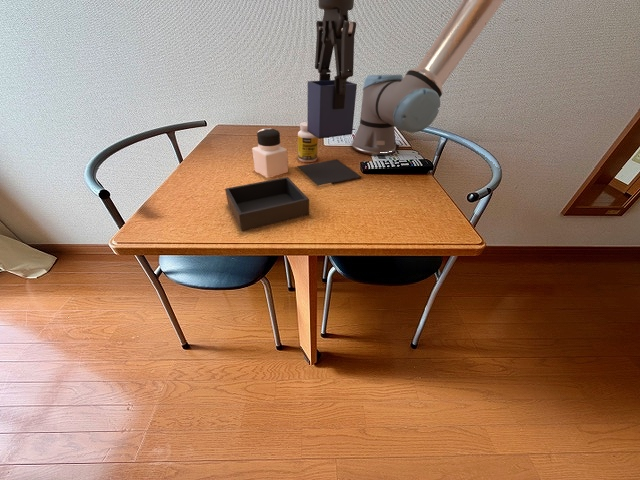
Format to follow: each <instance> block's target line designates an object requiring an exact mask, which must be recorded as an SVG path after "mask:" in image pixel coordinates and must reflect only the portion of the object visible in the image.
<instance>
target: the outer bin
mask: <svg viewBox="0 0 640 480" xmlns="http://www.w3.org/2000/svg"><path fill="white" fill-rule="evenodd" d="M224 190H225V191H224V192H225V196H226V202H227V205H228V207H229V209H230V210H231V213H232V215H233V217H234V219H235V221H236V223H237V225H238V228H239V230H240V232H246V231H250V230H254V229H259V228H262V227H266V226H270V225H275V224H279V223H282V222H287V221H290V220H294V219H298V218H302V217H303V218H304V217H306V216H309V215H310V199H309V197H308V196H307V195H306V194H305V193H304V192H303V191H302V190H301V189H300V188H299V187H298V186H297V185H296V184H295V183H294V181H292V180H291V178H289V176H285V177H280V178H273V179H269V180H263V181H258V182H253V183H247V184H241V185H237V186H232V187H226V188H224Z"/></svg>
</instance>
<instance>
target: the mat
mask: <svg viewBox="0 0 640 480" xmlns="http://www.w3.org/2000/svg"><path fill="white" fill-rule="evenodd" d="M296 167H297V168H298V170H300V171H301V172H302V173H303V174H304V175H305V176H307V178H309V179H310V180H311V182H313V183H314V184H315V185H317V186H323V185H328V184H331V185H336V184H341V183H345V182H350V181H354V180H360V179H362V175H360V174H359V173H357V172H356V171H354V169H352V168H350V167H349V166H347V165H346V164H344V163H343V162H342V161H340V160H339V159H331V160H325V161H320V162H312V163H309V164H308V163H307V164H302V165H296Z"/></svg>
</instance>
